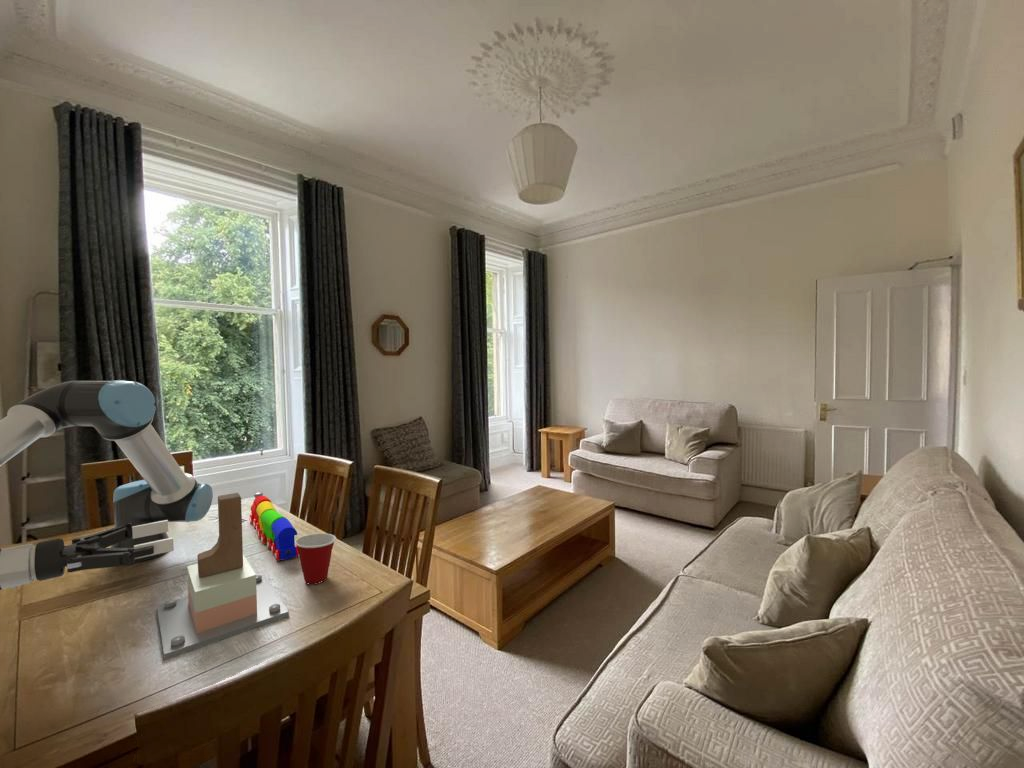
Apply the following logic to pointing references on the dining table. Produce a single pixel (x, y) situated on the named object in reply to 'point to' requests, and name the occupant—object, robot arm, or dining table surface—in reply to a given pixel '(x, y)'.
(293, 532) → the toy train
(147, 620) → the dining table surface
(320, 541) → the plastic cup
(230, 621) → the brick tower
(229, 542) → the wooden block
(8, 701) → the dining table surface
